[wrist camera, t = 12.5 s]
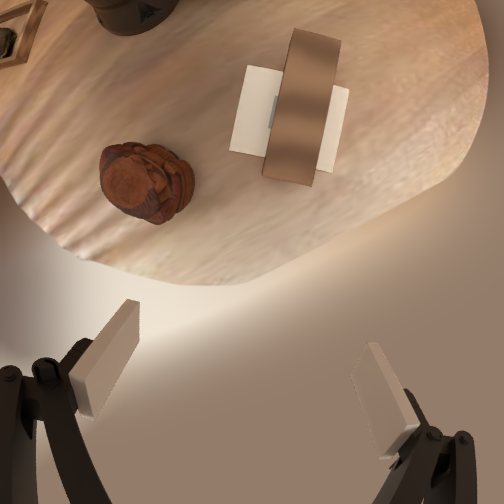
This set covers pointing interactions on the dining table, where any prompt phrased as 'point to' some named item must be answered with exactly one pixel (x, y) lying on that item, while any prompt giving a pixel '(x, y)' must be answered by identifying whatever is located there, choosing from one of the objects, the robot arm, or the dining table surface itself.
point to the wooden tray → (24, 29)
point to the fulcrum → (262, 112)
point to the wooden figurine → (146, 181)
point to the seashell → (6, 41)
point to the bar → (302, 108)
